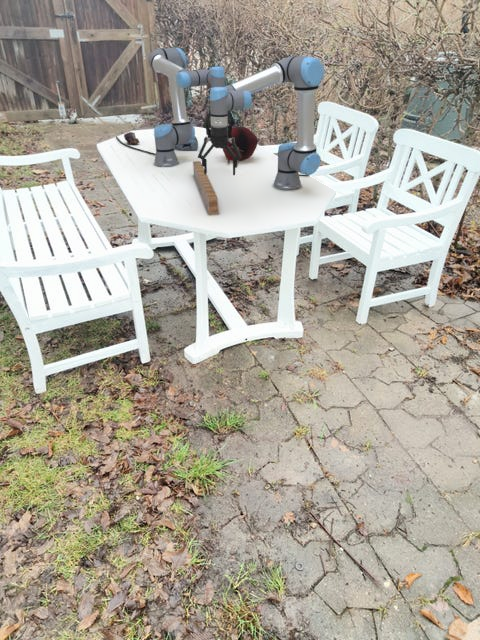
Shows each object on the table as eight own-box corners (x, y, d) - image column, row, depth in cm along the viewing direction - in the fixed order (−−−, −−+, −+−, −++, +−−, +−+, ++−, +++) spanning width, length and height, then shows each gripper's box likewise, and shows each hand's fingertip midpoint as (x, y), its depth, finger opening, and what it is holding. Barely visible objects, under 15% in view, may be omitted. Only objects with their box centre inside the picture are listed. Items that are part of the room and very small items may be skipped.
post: (193, 175, 273) (192, 161, 268) (201, 175, 273) (200, 161, 269) (209, 214, 220) (208, 197, 215) (218, 214, 221) (217, 197, 216)
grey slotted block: (198, 150, 320) (196, 121, 309) (173, 151, 319) (170, 122, 308) (198, 145, 335) (196, 116, 324) (174, 145, 334) (171, 117, 322)
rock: (136, 143, 345) (123, 144, 341) (134, 131, 342) (121, 132, 338) (140, 143, 336) (127, 145, 332) (139, 131, 332) (125, 132, 328)
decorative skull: (218, 132, 305) (218, 129, 282) (252, 124, 304) (255, 121, 281) (225, 164, 312) (225, 164, 288) (258, 157, 311) (261, 156, 288)
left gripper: (202, 102, 240) (204, 143, 252) (241, 97, 251) (241, 137, 263) (195, 100, 246) (197, 140, 258) (233, 96, 257) (234, 135, 269)
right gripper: (190, 126, 198) (192, 175, 210) (246, 128, 197) (245, 177, 209) (193, 123, 205) (195, 170, 217) (247, 125, 203) (246, 172, 215)
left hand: (219, 139), depth 261 cm, fingers open, 13 cm apart
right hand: (219, 174), depth 213 cm, fingers open, 13 cm apart
